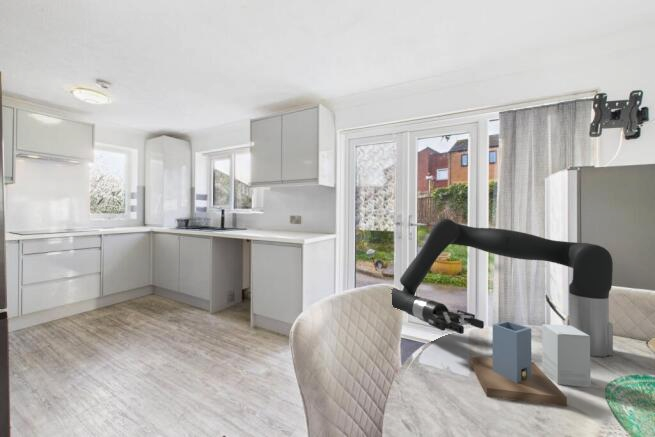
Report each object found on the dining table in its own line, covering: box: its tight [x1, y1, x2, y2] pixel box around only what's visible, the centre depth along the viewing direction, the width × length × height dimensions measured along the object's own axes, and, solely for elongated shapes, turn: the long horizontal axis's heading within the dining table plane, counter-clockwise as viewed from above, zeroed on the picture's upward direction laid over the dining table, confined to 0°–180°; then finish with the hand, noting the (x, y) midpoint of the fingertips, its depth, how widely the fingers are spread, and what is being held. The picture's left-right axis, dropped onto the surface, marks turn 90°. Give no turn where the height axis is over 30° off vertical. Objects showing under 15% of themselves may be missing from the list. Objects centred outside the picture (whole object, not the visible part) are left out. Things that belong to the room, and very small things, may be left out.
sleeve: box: [492, 320, 532, 383], centre depth 73 cm, size 6×6×12 cm
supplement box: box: [541, 323, 591, 388], centre depth 75 cm, size 7×7×13 cm
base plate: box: [469, 355, 568, 407], centre depth 73 cm, size 16×16×2 cm
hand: (473, 327), depth 83 cm, fingers open, 8 cm apart
